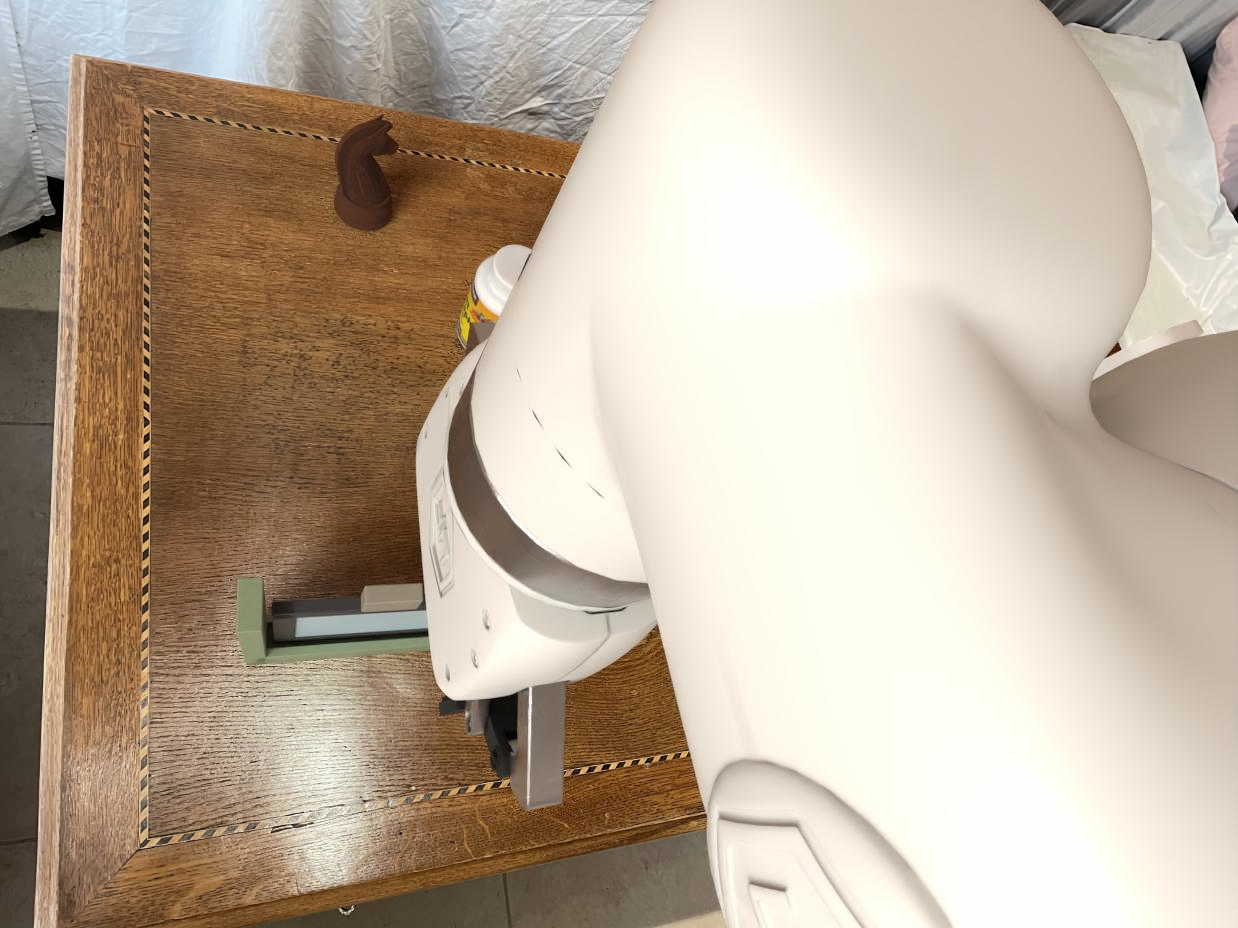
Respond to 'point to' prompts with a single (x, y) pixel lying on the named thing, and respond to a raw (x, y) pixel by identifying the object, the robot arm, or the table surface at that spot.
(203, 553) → the table surface
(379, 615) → the window pane
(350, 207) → the chess piece
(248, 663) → the window frame
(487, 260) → the supplement bottle
